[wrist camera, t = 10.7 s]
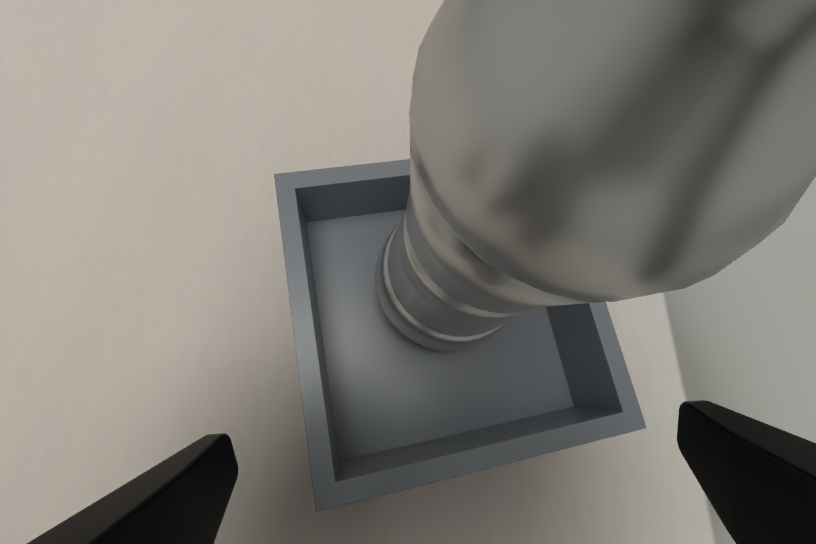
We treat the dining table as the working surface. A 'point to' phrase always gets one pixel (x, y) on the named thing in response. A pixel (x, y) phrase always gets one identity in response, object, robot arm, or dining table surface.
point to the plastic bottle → (593, 154)
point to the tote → (425, 357)
